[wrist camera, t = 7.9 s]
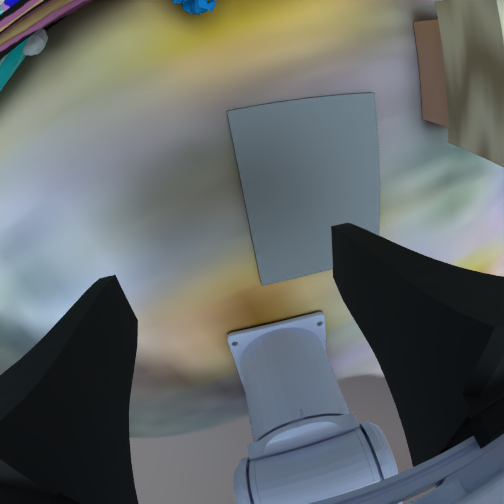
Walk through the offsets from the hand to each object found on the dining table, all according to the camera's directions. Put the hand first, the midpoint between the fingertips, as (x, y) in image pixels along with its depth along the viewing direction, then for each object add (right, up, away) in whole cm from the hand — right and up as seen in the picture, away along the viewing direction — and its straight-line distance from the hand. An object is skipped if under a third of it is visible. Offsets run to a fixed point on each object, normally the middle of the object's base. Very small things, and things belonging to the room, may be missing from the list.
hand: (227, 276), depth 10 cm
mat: (+5, +5, +10) cm, 12 cm away
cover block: (+15, +12, +4) cm, 19 cm away
